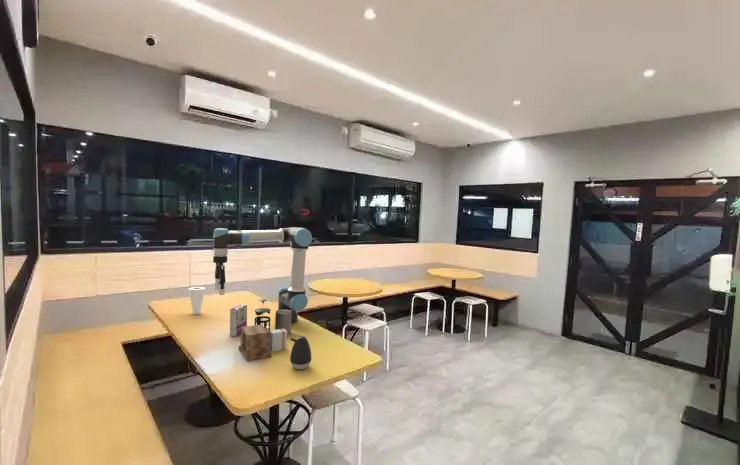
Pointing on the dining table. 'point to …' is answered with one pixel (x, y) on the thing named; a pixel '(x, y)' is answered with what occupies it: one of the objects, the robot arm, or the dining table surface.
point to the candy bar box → (238, 319)
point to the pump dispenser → (300, 353)
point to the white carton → (278, 340)
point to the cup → (196, 298)
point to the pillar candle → (283, 320)
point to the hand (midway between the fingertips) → (219, 292)
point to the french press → (258, 318)
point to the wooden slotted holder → (255, 342)
